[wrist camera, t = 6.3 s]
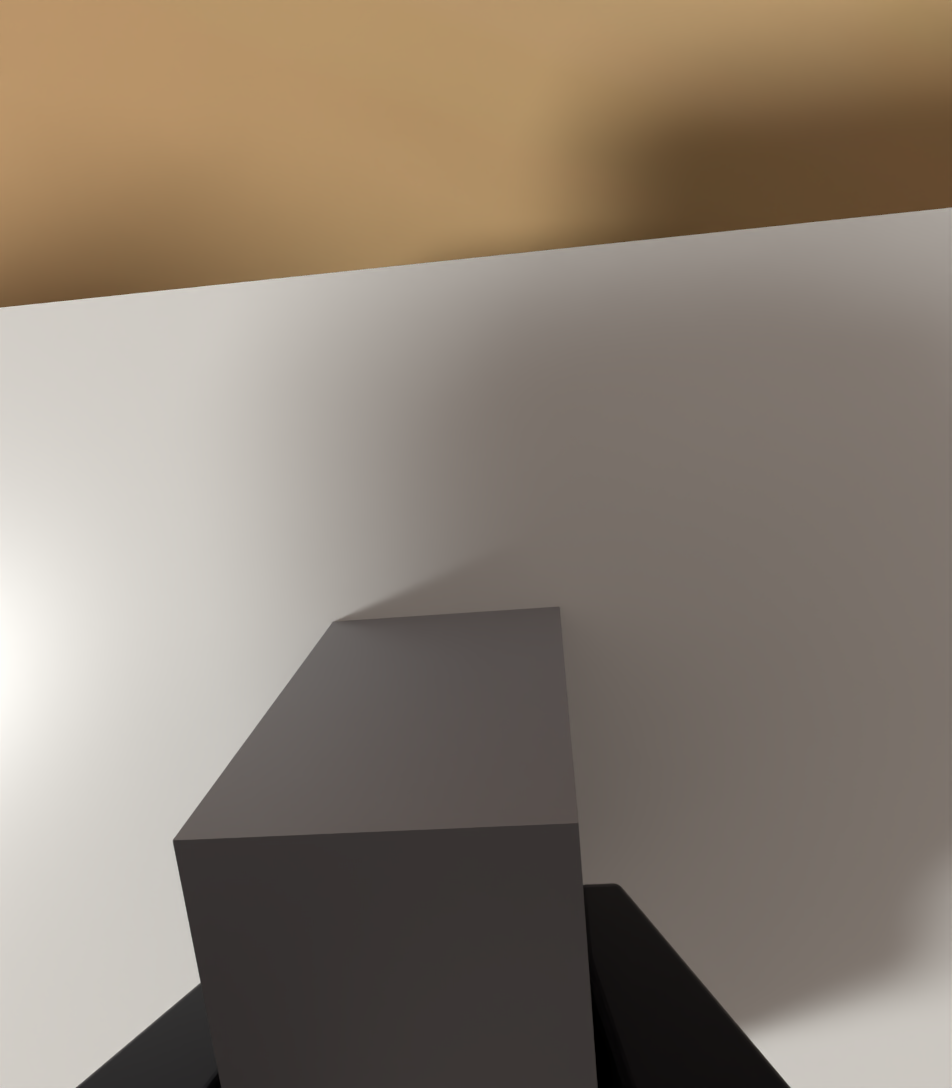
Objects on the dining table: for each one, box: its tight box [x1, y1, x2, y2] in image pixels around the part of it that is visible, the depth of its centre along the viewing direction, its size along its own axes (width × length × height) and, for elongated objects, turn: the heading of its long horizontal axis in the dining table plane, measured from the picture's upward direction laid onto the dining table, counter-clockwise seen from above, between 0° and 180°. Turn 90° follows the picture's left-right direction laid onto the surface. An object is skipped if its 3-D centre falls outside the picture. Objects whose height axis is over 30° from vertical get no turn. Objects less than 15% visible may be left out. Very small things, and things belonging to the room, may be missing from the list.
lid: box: [0, 208, 952, 1088], centre depth 8 cm, size 13×13×5 cm
